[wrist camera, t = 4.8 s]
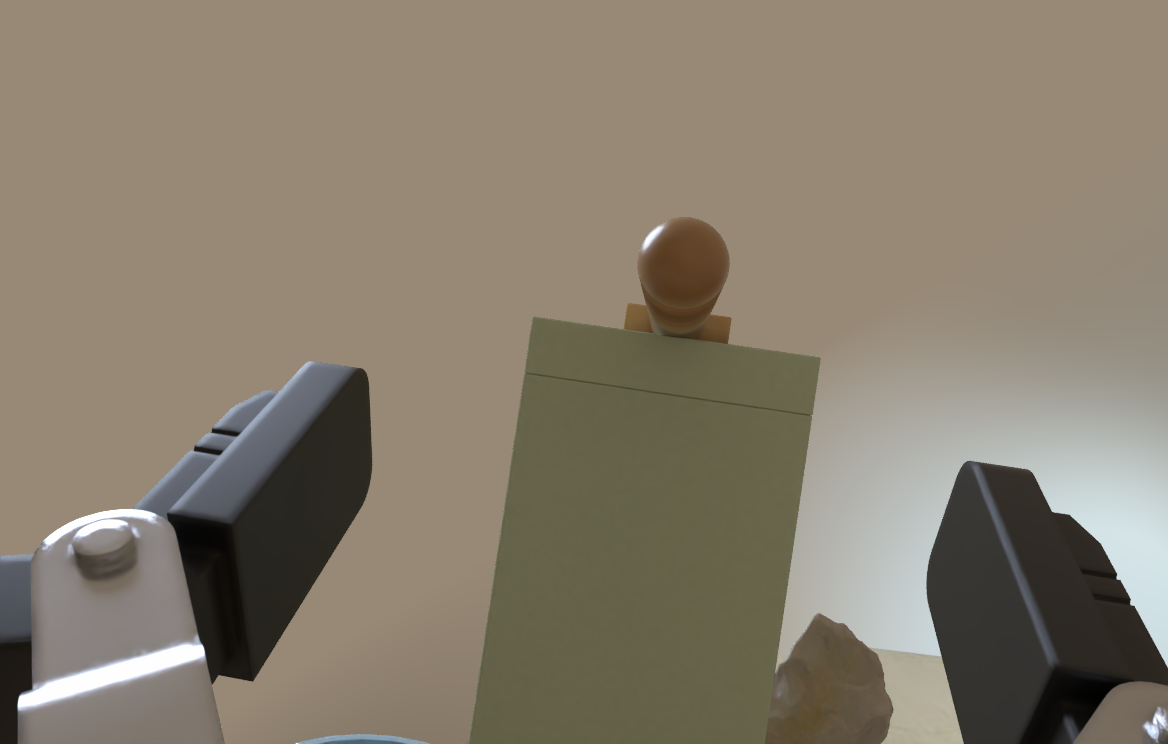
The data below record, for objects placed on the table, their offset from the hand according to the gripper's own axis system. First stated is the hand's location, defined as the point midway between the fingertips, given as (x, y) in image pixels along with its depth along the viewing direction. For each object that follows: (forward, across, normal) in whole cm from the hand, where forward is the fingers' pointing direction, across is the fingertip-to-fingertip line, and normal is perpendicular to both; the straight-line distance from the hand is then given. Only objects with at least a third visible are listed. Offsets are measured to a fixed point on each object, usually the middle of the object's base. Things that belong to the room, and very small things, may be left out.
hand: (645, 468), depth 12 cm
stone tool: (+39, -16, +56) cm, 70 cm away
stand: (+7, 0, +37) cm, 38 cm away
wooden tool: (+19, 0, +7) cm, 20 cm away
